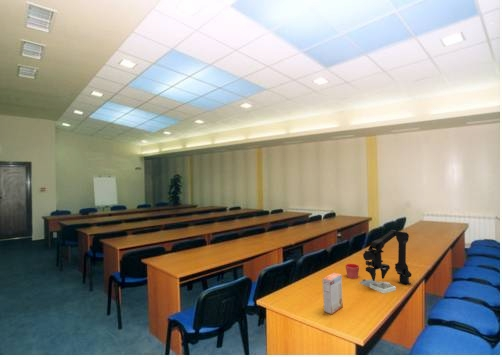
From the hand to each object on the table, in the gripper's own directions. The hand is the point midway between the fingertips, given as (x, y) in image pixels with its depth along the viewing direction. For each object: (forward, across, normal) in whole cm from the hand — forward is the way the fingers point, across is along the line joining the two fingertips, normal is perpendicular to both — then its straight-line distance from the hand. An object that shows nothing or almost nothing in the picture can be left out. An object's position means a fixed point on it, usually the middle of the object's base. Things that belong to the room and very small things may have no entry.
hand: (378, 279), depth 199 cm
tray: (+6, 0, +3) cm, 7 cm away
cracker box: (+6, +52, +11) cm, 53 cm away
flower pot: (+6, 0, -26) cm, 27 cm away
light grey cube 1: (+6, -2, +5) cm, 8 cm away
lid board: (+6, -2, -10) cm, 12 cm away
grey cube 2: (+6, +2, +2) cm, 6 cm away
